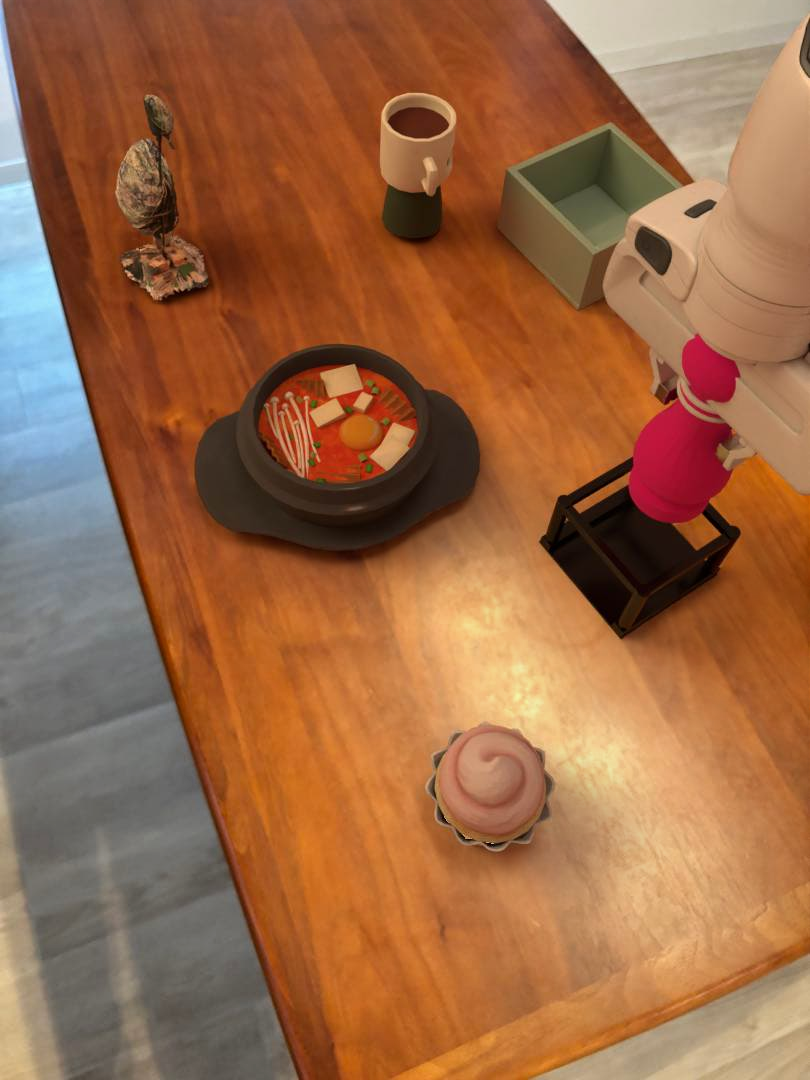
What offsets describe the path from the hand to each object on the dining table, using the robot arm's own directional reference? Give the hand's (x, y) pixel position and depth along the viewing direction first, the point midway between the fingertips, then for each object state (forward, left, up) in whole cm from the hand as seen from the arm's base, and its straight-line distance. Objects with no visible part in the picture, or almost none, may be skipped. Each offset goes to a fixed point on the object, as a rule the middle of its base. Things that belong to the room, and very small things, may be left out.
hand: (695, 426), depth 70 cm
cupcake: (+23, +10, -19) cm, 32 cm away
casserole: (+16, -21, -19) cm, 33 cm away
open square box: (-21, -31, -19) cm, 42 cm away
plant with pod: (+18, -52, -19) cm, 58 cm away
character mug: (-7, -43, -19) cm, 48 cm away
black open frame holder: (0, 0, -19) cm, 19 cm away
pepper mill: (-1, 0, -9) cm, 9 cm away
